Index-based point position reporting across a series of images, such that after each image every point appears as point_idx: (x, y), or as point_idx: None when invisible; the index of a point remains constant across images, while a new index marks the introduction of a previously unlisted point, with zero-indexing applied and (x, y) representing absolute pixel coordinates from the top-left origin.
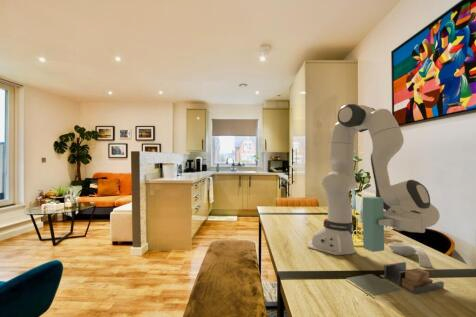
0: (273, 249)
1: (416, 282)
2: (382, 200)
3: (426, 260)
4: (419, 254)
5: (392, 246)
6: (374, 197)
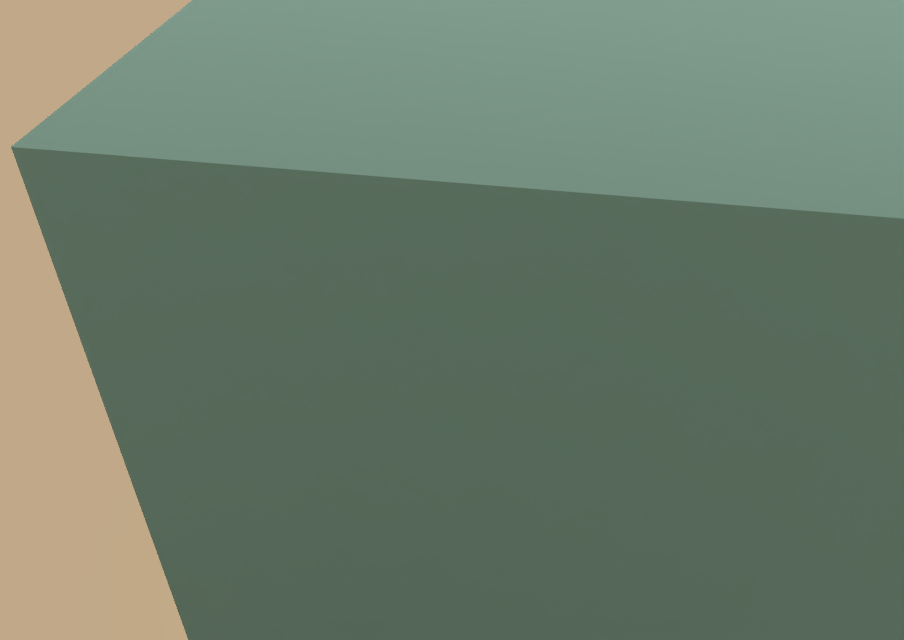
0: None
1: None
2: (119, 272)
3: None
4: None
5: None
6: (548, 1)
